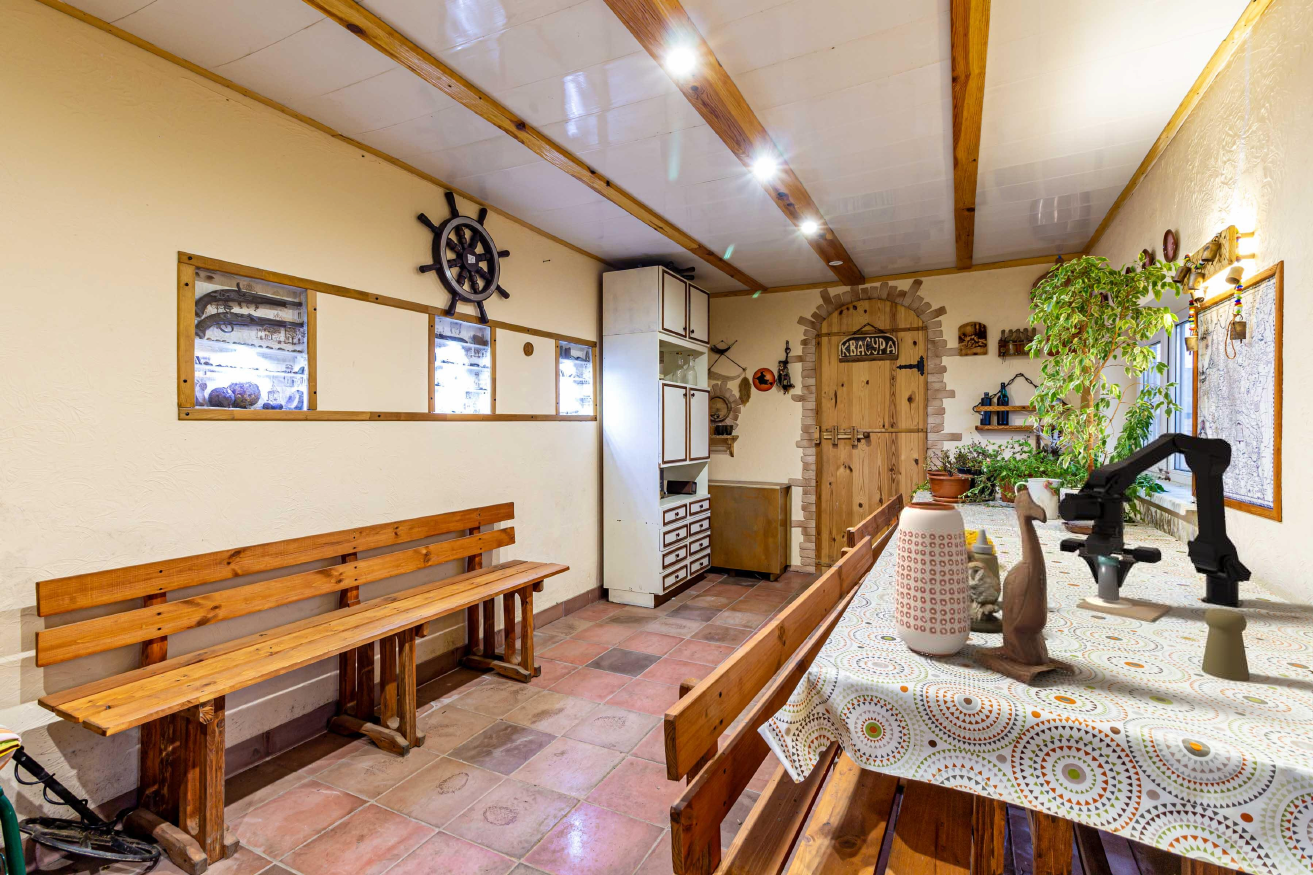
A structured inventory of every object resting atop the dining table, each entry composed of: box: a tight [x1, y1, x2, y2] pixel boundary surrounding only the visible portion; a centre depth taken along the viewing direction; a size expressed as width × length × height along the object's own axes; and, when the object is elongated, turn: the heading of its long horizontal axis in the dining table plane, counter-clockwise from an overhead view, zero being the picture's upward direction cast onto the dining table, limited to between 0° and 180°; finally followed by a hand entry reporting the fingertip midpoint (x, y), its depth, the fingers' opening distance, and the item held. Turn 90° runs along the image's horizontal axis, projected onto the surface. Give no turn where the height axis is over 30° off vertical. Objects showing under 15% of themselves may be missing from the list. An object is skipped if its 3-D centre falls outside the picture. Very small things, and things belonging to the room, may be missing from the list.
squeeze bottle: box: [971, 529, 1002, 606], centre depth 144 cm, size 8×8×18 cm
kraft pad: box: [1075, 594, 1173, 623], centre depth 140 cm, size 16×14×1 cm
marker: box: [1097, 555, 1120, 601], centre depth 142 cm, size 4×4×10 cm
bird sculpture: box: [972, 490, 1077, 686], centre depth 104 cm, size 11×12×32 cm
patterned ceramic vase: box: [894, 501, 971, 658], centre depth 115 cm, size 13×13×28 cm
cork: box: [1201, 608, 1251, 682], centre depth 102 cm, size 6×6×11 cm
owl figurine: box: [967, 546, 1003, 634], centre depth 132 cm, size 18×12×17 cm, turn 36°
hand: (1108, 585), depth 142 cm, fingers closed on marker, 4 cm apart
